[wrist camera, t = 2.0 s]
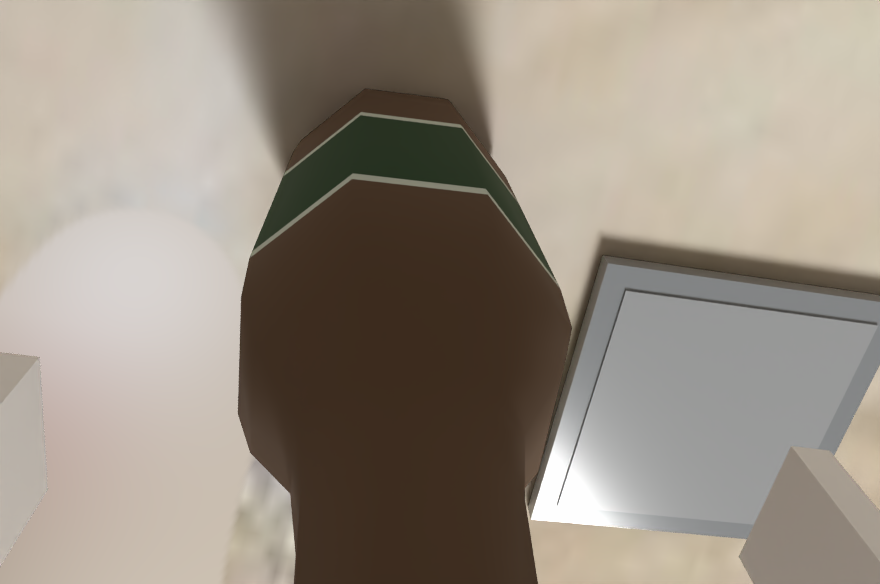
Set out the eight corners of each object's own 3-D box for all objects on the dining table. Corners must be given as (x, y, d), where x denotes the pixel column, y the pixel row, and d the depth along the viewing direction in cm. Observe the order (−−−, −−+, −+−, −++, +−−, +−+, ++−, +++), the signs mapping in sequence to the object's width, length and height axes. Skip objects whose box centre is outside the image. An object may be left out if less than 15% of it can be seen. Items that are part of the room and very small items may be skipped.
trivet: (527, 507, 35) (531, 520, 34) (602, 255, 29) (608, 264, 28) (782, 530, 37) (790, 544, 36) (897, 297, 31) (910, 307, 30)
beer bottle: (350, 36, 25) (145, 683, 4) (539, 148, 27) (1123, 972, 6) (254, 225, 28) (-196, 1238, 6) (433, 313, 30) (556, 1292, 8)
